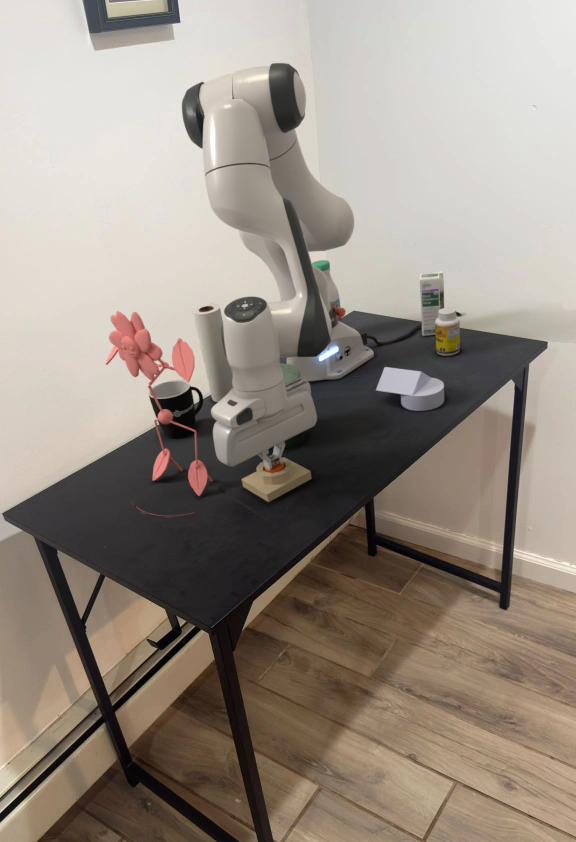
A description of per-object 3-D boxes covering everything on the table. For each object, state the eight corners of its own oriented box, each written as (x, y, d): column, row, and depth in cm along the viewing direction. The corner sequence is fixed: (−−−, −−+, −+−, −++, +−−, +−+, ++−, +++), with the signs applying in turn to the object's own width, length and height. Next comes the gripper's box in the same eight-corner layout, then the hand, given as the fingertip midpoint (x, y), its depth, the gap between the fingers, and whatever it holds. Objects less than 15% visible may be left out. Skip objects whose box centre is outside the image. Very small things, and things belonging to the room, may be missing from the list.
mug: (175, 445, 152) (164, 402, 146) (152, 434, 158) (140, 392, 152) (219, 422, 158) (210, 379, 152) (195, 412, 164) (185, 371, 158)
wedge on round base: (376, 404, 154) (432, 413, 147) (374, 375, 150) (431, 383, 143) (396, 387, 160) (451, 394, 153) (394, 358, 156) (450, 365, 149)
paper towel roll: (224, 405, 165) (205, 314, 153) (206, 400, 169) (186, 311, 157) (246, 392, 169) (229, 303, 157) (228, 388, 173) (210, 300, 161)
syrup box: (421, 336, 182) (419, 279, 174) (422, 328, 186) (419, 272, 178) (445, 335, 180) (443, 277, 172) (444, 326, 185) (443, 269, 177)
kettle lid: (275, 363, 147) (271, 339, 145) (313, 377, 139) (310, 352, 136) (225, 385, 142) (220, 360, 139) (262, 401, 133) (257, 375, 130)
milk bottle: (309, 339, 192) (299, 263, 180) (335, 331, 193) (327, 255, 182) (322, 347, 185) (312, 269, 174) (348, 339, 187) (341, 261, 176)
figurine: (158, 458, 148) (110, 290, 129) (246, 491, 132) (207, 305, 113) (98, 494, 139) (37, 319, 120) (185, 534, 124) (131, 341, 104)
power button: (277, 466, 133) (276, 458, 132) (289, 472, 131) (287, 464, 130) (262, 474, 132) (260, 466, 131) (273, 481, 129) (272, 472, 128)
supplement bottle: (432, 350, 174) (431, 309, 168) (454, 345, 174) (454, 304, 168) (440, 358, 169) (439, 316, 163) (463, 353, 169) (463, 311, 164)
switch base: (285, 467, 138) (282, 448, 136) (312, 481, 132) (309, 462, 130) (243, 489, 133) (239, 470, 131) (269, 504, 128) (265, 485, 125)
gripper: (297, 370, 130) (306, 438, 137) (202, 413, 120) (218, 483, 128) (319, 379, 125) (328, 448, 133) (222, 423, 116) (238, 495, 124)
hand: (273, 465), depth 130 cm, fingers closed, pressing on power button
